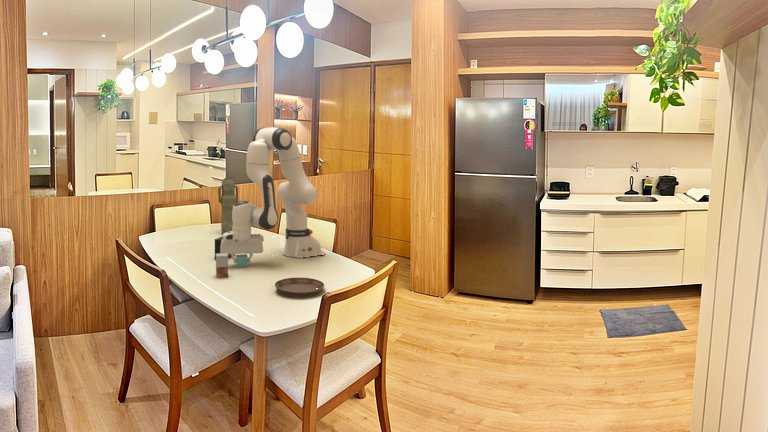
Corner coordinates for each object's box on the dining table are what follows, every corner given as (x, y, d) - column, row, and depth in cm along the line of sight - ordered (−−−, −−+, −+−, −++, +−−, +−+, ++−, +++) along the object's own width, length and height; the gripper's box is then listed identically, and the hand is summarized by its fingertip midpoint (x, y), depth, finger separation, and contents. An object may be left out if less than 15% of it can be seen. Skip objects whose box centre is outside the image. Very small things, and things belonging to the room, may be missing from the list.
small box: (225, 260, 261) (225, 240, 260) (214, 259, 263) (213, 239, 261) (235, 255, 272) (235, 236, 270) (224, 254, 273) (224, 235, 271)
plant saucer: (326, 284, 228) (326, 277, 228) (321, 300, 208) (322, 292, 207) (279, 283, 228) (279, 276, 227) (270, 298, 207) (270, 290, 207)
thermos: (216, 233, 322) (215, 177, 316) (234, 232, 329) (234, 177, 324) (222, 236, 315) (221, 179, 309) (240, 234, 323) (240, 178, 317)
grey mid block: (227, 263, 237) (227, 253, 236) (228, 266, 232) (227, 255, 231) (216, 264, 235) (215, 253, 234) (216, 267, 231) (216, 256, 230)
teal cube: (246, 264, 256) (246, 254, 255) (247, 266, 251) (247, 256, 250) (236, 264, 254) (236, 254, 253) (237, 267, 250) (236, 257, 249)
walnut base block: (227, 274, 238) (227, 263, 237) (228, 277, 233) (228, 266, 232) (216, 274, 236) (216, 264, 235) (216, 277, 231) (216, 267, 231)
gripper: (262, 232, 257) (262, 259, 259) (219, 233, 250) (220, 261, 252) (264, 235, 251) (264, 262, 253) (220, 236, 244) (220, 264, 246)
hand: (241, 262), depth 252 cm, fingers closed on teal cube, 5 cm apart
